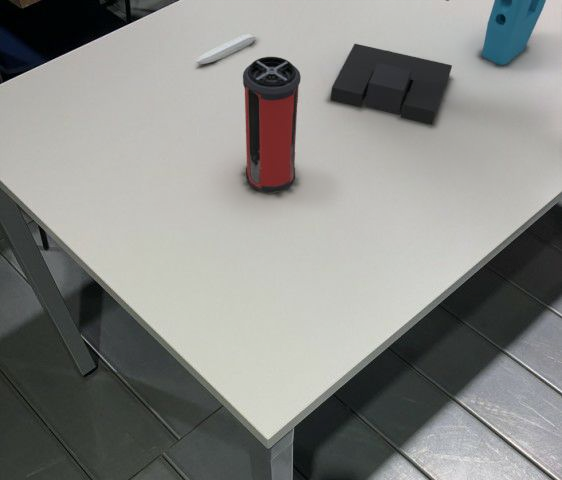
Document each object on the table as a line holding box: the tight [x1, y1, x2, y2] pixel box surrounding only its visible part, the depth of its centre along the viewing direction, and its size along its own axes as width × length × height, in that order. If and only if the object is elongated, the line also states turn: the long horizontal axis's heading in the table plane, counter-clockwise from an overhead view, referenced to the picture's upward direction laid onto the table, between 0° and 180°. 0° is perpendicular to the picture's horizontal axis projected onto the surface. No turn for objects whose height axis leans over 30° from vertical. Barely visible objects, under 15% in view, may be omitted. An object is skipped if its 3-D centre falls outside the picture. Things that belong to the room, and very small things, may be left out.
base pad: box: [330, 43, 453, 126], centre depth 109 cm, size 18×14×2 cm
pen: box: [195, 33, 256, 65], centre depth 113 cm, size 2×14×2 cm, turn 133°
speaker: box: [242, 56, 302, 193], centre depth 89 cm, size 8×8×18 cm
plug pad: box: [364, 63, 412, 115], centre depth 106 cm, size 6×6×4 cm
